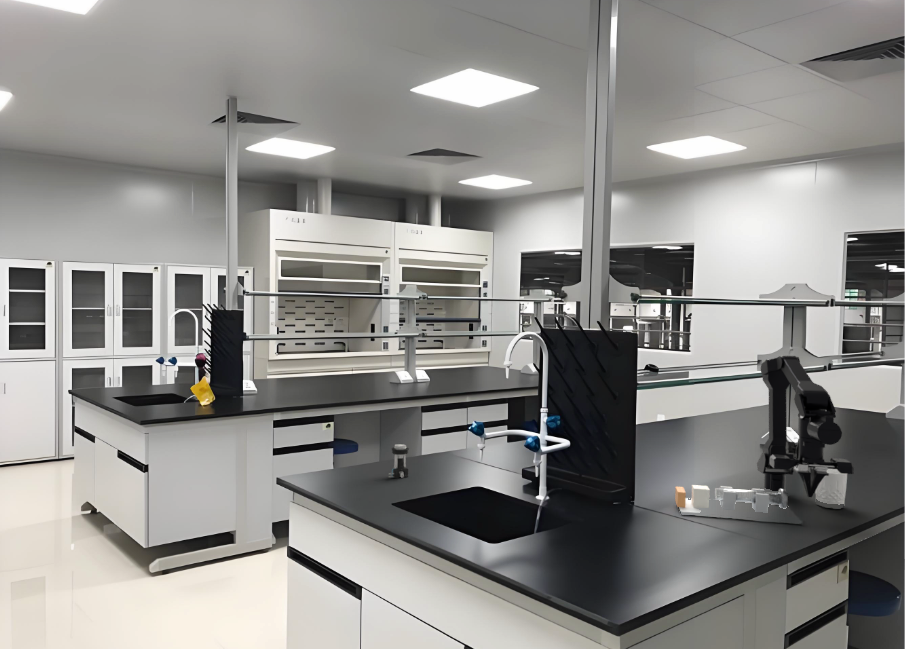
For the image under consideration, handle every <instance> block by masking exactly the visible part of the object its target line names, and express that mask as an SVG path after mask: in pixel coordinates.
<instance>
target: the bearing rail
mask: <svg viewBox="0 0 905 649" xmlns="http://www.w3.org/2000/svg"><path fill="white" fill-rule="evenodd" d="M719 488H724V489H734V488H733V487H732V486H725V485H719ZM751 490H752V491H765V490H764V489H760V488H755V487H753V488H751ZM686 492H687V491H686V490H685V487H684V486H675V495H674V496H675V498H674V499H675V500H674V501H675V504H676V506H677V508H678V507H679V508H680V511H681V513H700V512H701V510H699V509H698V508H697V507H693V505H692V503H691V500H688V498H689V499H690V498H691V497H686V496H687V493H686ZM719 501H720V505H721V507H722V509H723V510H735V504H736V502H737V501H736V492H735V491H723V500H719ZM751 503H752V508H753V509H754V510H755V512H763V513H768V507H769V504H770V503H769V495H768V494H763V493H756V496H755V502H751ZM680 511H679V512H680Z"/></svg>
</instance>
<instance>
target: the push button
mask: <svg viewBox="0 0 905 649" xmlns="http://www.w3.org/2000/svg"><path fill="white" fill-rule="evenodd" d="M409 449H410V448H409V447H407V444H403V443H399V444H398V443H397V444H394V447H392V448H391V451H392V452H391V453H392V454H393V455H394V459H393V460H394V462H393V465H394V466H393V468H392V469H391V472H390V473H389V472H388V475H390V476H388V478H393V479H401V478H408V477H409V469H408V468H407V465H406V458H407V457H406V455H408V454H409ZM399 477H401V478H399Z"/></svg>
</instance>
